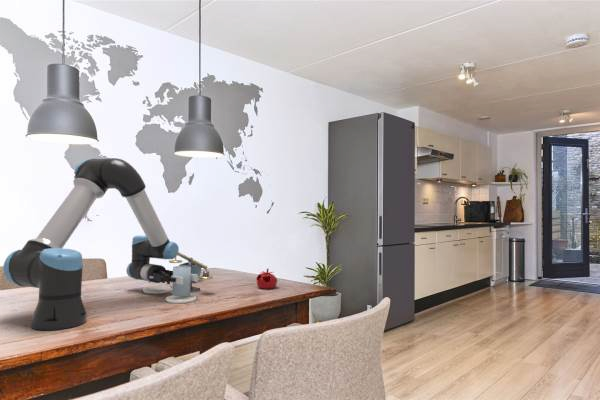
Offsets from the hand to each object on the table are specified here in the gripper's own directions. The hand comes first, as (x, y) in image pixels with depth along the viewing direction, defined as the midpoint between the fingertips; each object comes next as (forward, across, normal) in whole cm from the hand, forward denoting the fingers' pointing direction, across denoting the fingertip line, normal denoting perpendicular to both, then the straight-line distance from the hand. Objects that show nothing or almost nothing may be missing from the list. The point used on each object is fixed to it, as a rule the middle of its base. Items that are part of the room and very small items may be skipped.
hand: (190, 279), depth 160 cm
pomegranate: (+6, -42, -9) cm, 43 cm away
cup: (-5, 0, -6) cm, 8 cm away
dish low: (-5, 0, -9) cm, 10 cm away
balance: (-16, -14, -9) cm, 23 cm away
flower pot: (-34, -30, -9) cm, 46 cm away
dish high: (-27, -5, -9) cm, 29 cm away
